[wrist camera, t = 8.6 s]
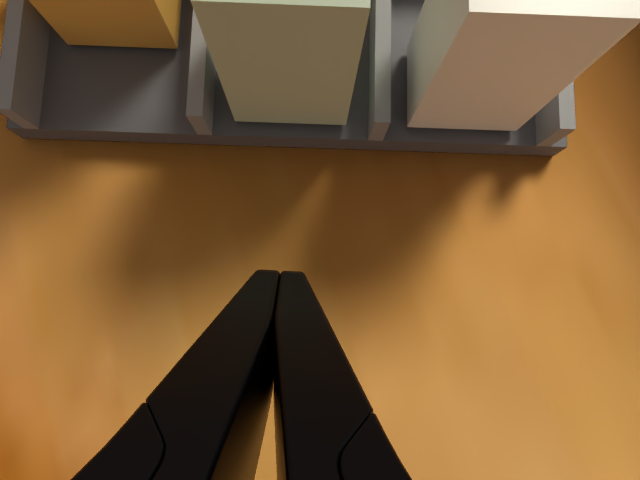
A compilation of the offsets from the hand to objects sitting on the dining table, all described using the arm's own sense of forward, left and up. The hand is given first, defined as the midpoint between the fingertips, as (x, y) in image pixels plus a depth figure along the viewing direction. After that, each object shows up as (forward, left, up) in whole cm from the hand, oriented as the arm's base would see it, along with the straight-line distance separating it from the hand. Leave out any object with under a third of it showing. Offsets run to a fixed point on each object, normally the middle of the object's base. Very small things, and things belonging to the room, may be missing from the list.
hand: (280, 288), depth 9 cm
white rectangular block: (+11, -2, -10) cm, 15 cm away
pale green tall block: (+8, +4, -11) cm, 14 cm away
